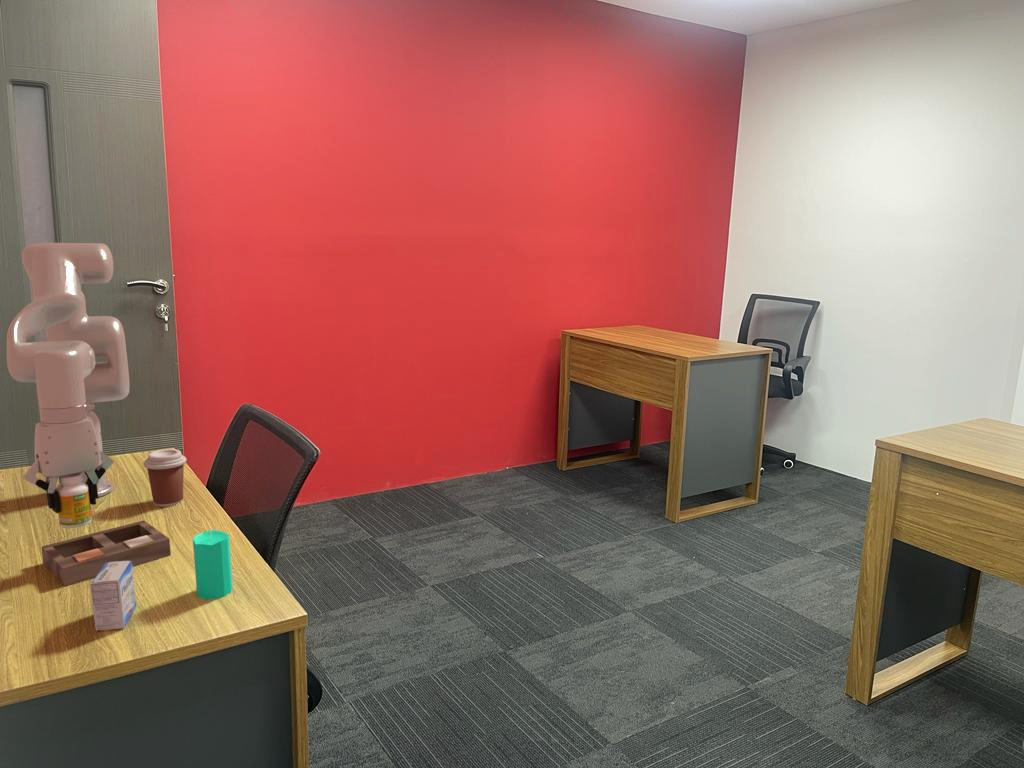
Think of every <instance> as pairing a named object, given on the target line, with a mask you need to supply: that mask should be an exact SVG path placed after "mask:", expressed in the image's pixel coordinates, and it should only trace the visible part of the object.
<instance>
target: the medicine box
mask: <svg viewBox="0 0 1024 768" xmlns="http://www.w3.org/2000/svg"><path fill="white" fill-rule="evenodd" d="M133 567H134V566H132V561H116V562H109V563H105V564H104V566H103V567H102V569H101V570H100V572H99V573H98V574H97V576H96V577H94V578H93V579H92V582H91V583H90V584H89V586H90V595H91V596H90V597H91V601H92V603H91V604H92V611H93V618H94V619H93V620H94V627H95V631H96V632H102V631H101V630H106V631H113V630H112V629H116V630H123V629H122V628H124V629H125V627H126V626H127V624H128V622H129V620H130V619H131V616H132V615H133V613H134V611H135V609H136V608H137V597H136V588H135V577H134V568H133ZM98 630H100V631H98Z"/></svg>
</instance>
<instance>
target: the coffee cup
mask: <svg viewBox="0 0 1024 768" xmlns="http://www.w3.org/2000/svg"><path fill="white" fill-rule="evenodd" d="M186 463H187V457H186V456H185V455H183V454H182V451H181V450H179V449H175V448H164V449H158V450H157V449H156V450H155V451H151V452H149V454H147V458H146V459H144V462H143V467H144V468H145V469H147V474H148V480H149V485H150V490H151V497H152V503H153V505H154V506H155V505H156V506H155V507H158V506H159V508H160V507H161V508H167V507H166V506H170V507H173V506H172V505H175V506H177V505H176V504H178V503H180V502H181V501H183V502H184V471H185V470H184V469H185V468H184V467H185V465H184V464H186ZM180 504H181V503H180ZM178 505H179V504H178Z"/></svg>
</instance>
